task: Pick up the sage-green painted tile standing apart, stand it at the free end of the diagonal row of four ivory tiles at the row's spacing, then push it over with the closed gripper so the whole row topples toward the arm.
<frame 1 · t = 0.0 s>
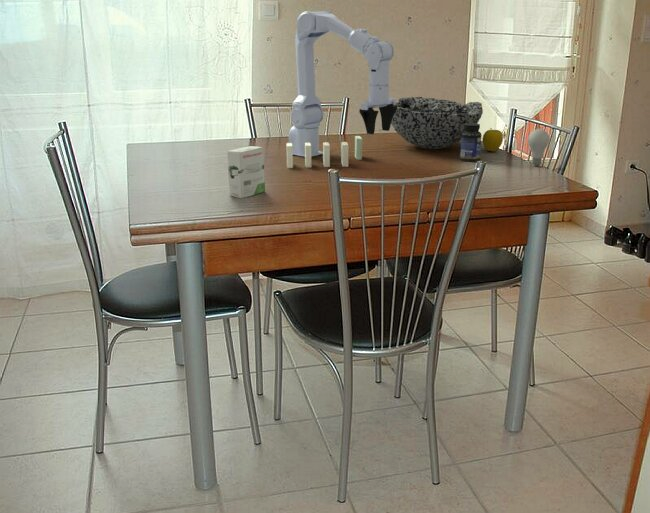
hand: (378, 132, 214), 10 cm above the table, fingers open, 7 cm apart
tile 2: (308, 165, 218), on the table
tile 4: (344, 164, 219), on the table
bowl: (432, 148, 244), on the table
pill bottle: (469, 160, 224), on the table
tile 1: (289, 166, 218), on the table
ink box: (247, 194, 186), on the table
lightbulb: (536, 166, 215), on the table
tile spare: (358, 157, 229), on the table
apple: (491, 152, 237), on the table
tile 3: (326, 165, 218), on the table
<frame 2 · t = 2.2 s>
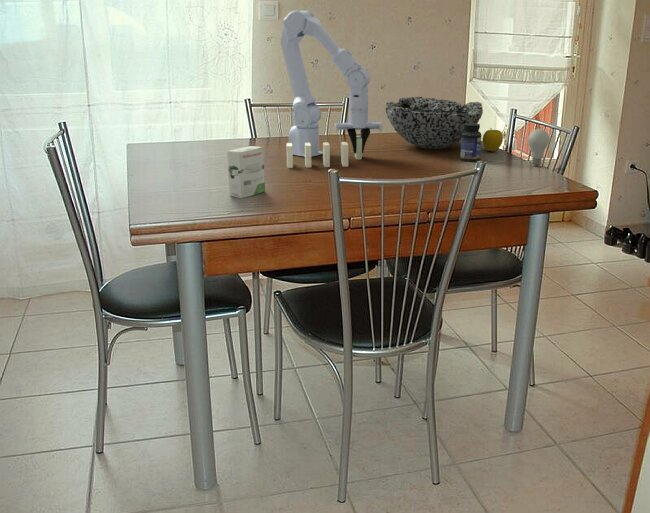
hand: (358, 152, 228), 2 cm above the table, fingers closed on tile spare, 2 cm apart
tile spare: (358, 157, 229), on the table, touching gripper
everything else where it was.
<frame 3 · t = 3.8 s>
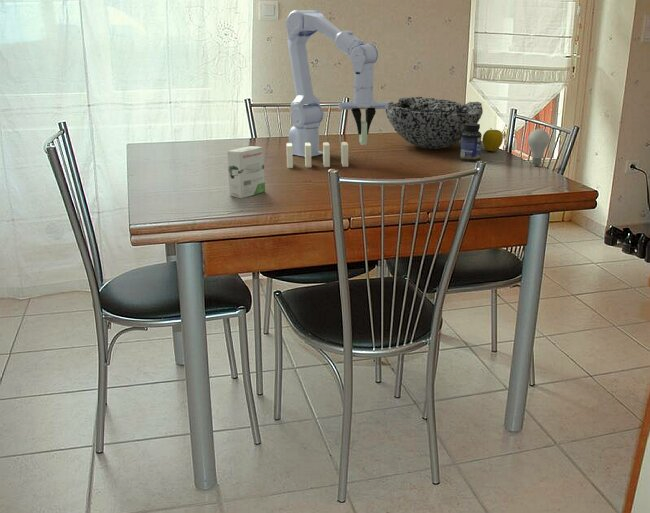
hand: (363, 133, 216), 9 cm above the table, fingers closed on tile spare
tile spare: (363, 143, 217), point 6 cm above the table, touching gripper
everything else where it was.
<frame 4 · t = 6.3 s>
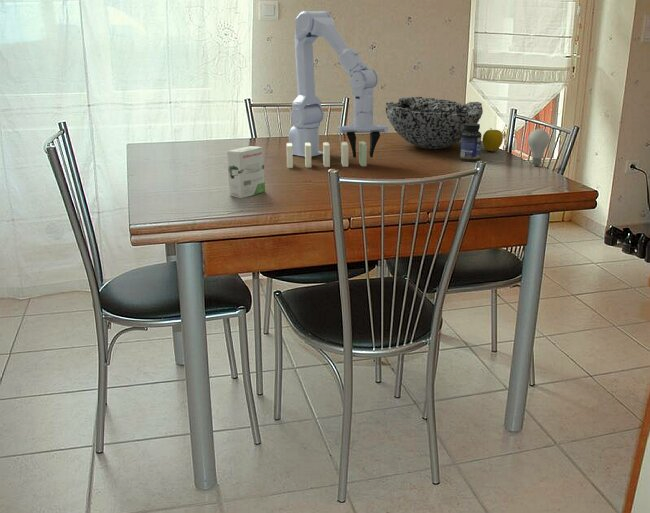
hand: (362, 156, 218), 2 cm above the table, fingers open, 4 cm apart
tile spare: (362, 164, 219), on the table
everything else where it was.
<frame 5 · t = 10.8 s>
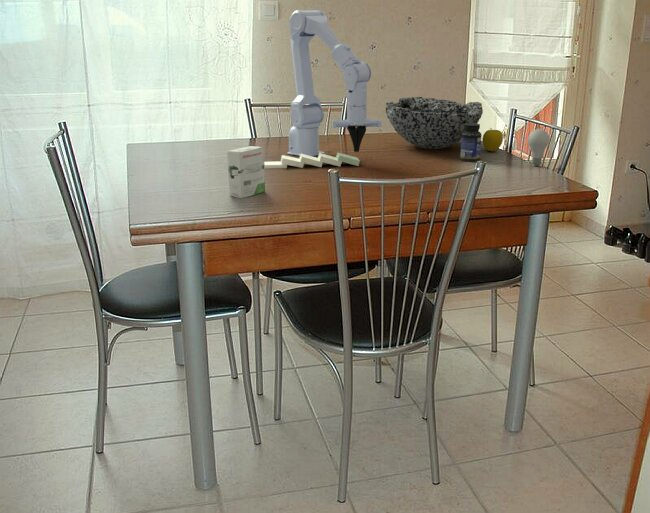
hand: (356, 151, 218), 4 cm above the table, fingers closed
tile 2: (302, 163, 217), point 1 cm above the table, tilted 77°, touching tile 3
tile 4: (340, 162, 218), point 1 cm above the table, tilted 74°, touching tile 3, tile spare
tile 1: (286, 165, 217), on the table, tilted 90°
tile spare: (358, 161, 219), point 1 cm above the table, tilted 73°, touching tile 4
tile 3: (321, 163, 218), point 1 cm above the table, tilted 74°, touching tile 2, tile 4
everything else where it was.
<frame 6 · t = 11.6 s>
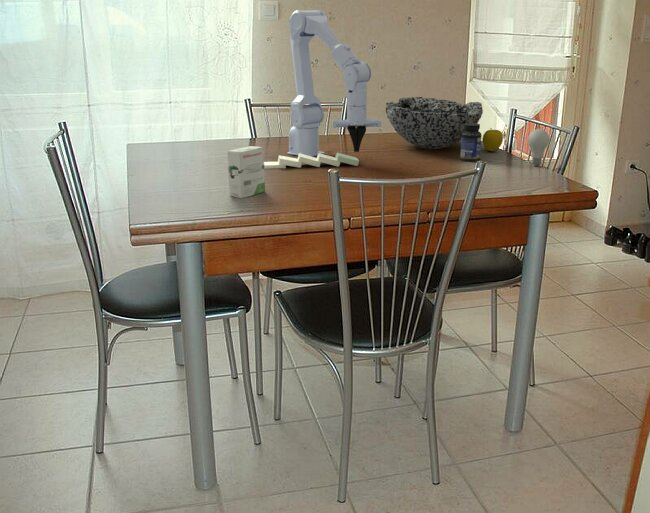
hand: (356, 151, 218), 4 cm above the table, fingers closed
tile 2: (300, 163, 217), point 1 cm above the table, tilted 78°, touching tile 1
tile 1: (285, 165, 217), on the table, tilted 90°, touching tile 2
tile 3: (319, 163, 218), point 1 cm above the table, tilted 73°, touching tile 4
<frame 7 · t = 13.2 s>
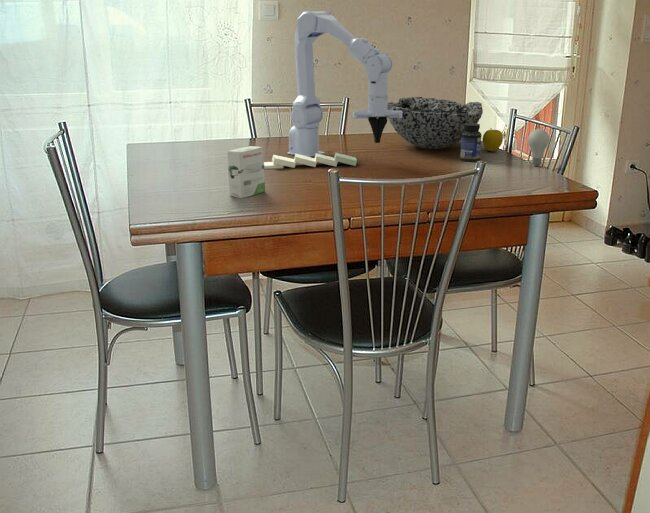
hand: (377, 142, 218), 6 cm above the table, fingers closed
tile 2: (294, 163, 217), point 1 cm above the table, tilted 75°, touching tile 1, tile 3
tile 4: (336, 162, 219), point 1 cm above the table, tilted 75°, touching tile 3
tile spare: (355, 161, 219), point 1 cm above the table, tilted 75°
tile 3: (315, 163, 218), point 1 cm above the table, tilted 75°, touching tile 2, tile 4
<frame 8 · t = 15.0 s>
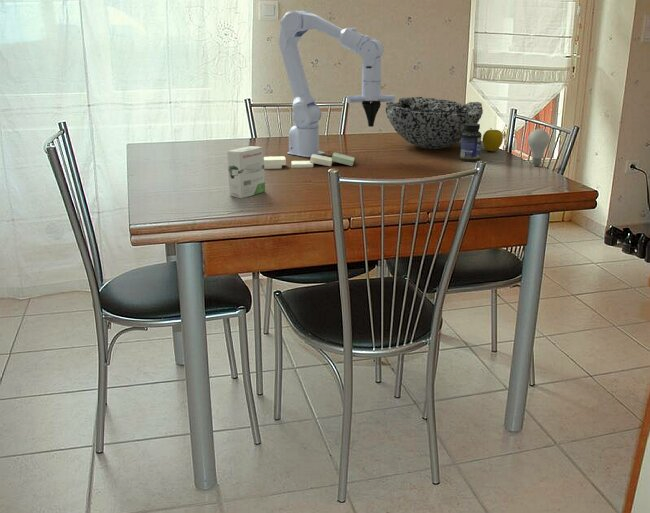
hand: (370, 126, 223), 10 cm above the table, fingers closed
tile 2: (285, 160, 217), point 2 cm above the table, tilted 89°, touching tile 1
tile 4: (332, 162, 219), point 1 cm above the table, tilted 79°, touching tile 3, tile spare
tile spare: (353, 161, 219), point 1 cm above the table, tilted 76°, touching tile 4
tile 3: (313, 165, 218), on the table, tilted 90°, touching tile 4
at the end: tile 1 tilted 90°; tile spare tilted 76° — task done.
